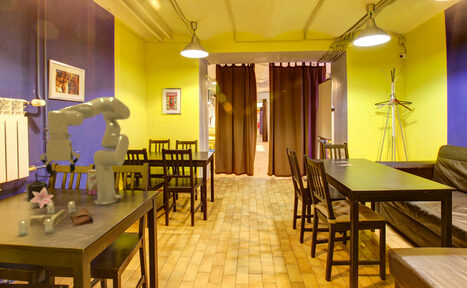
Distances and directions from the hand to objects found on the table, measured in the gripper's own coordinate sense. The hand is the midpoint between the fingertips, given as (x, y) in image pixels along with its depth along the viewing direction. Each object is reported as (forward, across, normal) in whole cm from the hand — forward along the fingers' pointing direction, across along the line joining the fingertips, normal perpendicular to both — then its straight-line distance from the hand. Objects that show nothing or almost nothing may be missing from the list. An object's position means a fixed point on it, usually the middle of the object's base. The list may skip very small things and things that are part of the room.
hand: (61, 172), depth 127 cm
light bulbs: (+24, +6, 0) cm, 25 cm away
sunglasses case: (+25, -7, -1) cm, 26 cm away
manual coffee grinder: (+25, +31, -50) cm, 64 cm away
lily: (+25, +22, -30) cm, 44 cm away
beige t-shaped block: (+22, +2, 0) cm, 23 cm away
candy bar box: (+25, -2, -50) cm, 55 cm away
